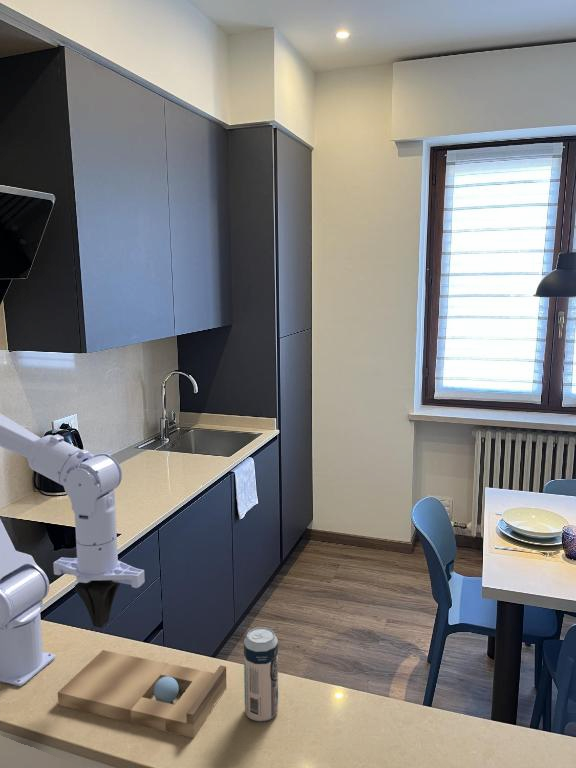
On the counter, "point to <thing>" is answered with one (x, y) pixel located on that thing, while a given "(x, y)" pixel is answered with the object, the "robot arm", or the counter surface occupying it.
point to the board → (143, 692)
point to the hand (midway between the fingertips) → (101, 623)
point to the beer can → (261, 674)
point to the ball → (166, 689)
